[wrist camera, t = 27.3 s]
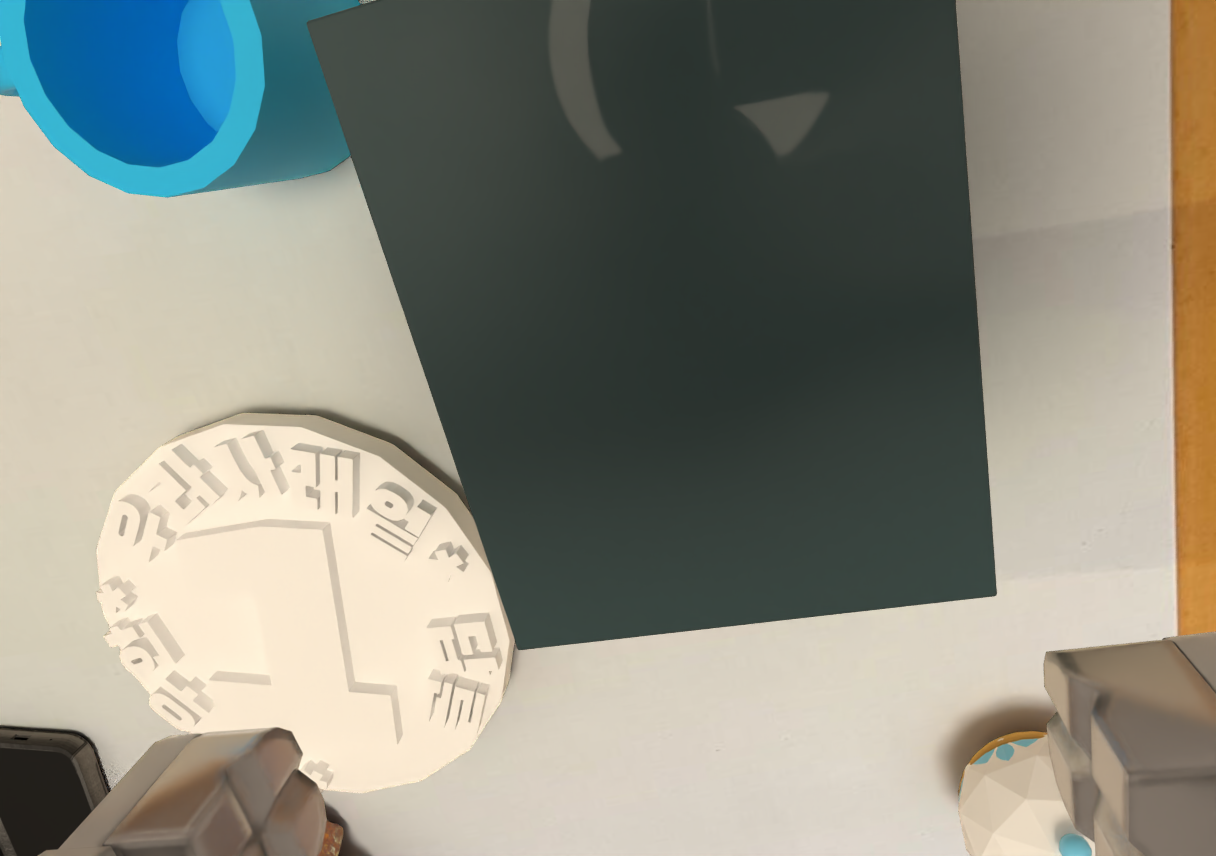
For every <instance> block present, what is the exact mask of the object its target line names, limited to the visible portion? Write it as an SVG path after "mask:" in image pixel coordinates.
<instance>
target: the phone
mask: <svg viewBox="0 0 1216 856" xmlns="http://www.w3.org/2000/svg"><path fill="white" fill-rule="evenodd" d="M107 795H108V791H107V788H106V785H105V782H104V779H103V776H102V773H101V771H100V768H99V765H98V762H97V759H96V756H95V753H94V751H93V749H92V747H91V745H90V744H89V743H88V742H87V740H85V739H84V738H82V737H81V736H79V735H77V734H74V733H69V732H55V731H41V730H27V729H12V728H0V856H38V855H40V854H41V853H43V852H44V851H46V850H57V849H59V848H60V846H61V845H62V844H63V843H64V842H65V841H66V840H67V839H68V838H69V836H70V835H71V834H72V833H73V832H74V831H75V830H76V829H77V828H78V827H79V825H80V824H81V823H82V822H83V821H84V820H85V819H86V818H87V817H88V816H89V814H90V813H91V812H92V811H93V810H94V809H95V808H96V807H97V806H98V805H99V803H100V802H101V801H102V800H103V799H104V798H105V797H106V796H107Z"/></svg>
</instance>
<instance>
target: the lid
mask: <svg viewBox="0 0 1216 856" xmlns="http://www.w3.org/2000/svg"><path fill="white" fill-rule="evenodd" d="M307 28H308V30H309V33H310V36H311V39H312V42H313V45H314V48H315V51H316V54H317V57H318V60H319V63H320V66H321V69H322V72H323V75H324V78H325V81H326V84H327V87H328V90H329V93H330V95H331V98H332V101H333V104H334V107H335V110H336V113H337V116H338V119H339V122H340V125H341V128H342V131H343V134H344V137H345V140H346V143H347V146H348V149H349V152H350V155H351V158H352V160H353V163H354V166H355V169H356V172H357V175H358V178H359V181H360V184H361V187H362V190H363V193H364V196H365V199H366V202H367V205H368V208H369V211H370V214H371V217H372V220H373V223H374V226H375V228H376V231H377V234H378V237H379V240H380V243H381V246H382V249H383V252H384V255H385V258H386V261H387V264H388V267H389V270H390V273H391V276H392V279H393V282H394V285H395V288H396V291H397V293H398V296H399V299H400V302H401V305H402V308H403V311H404V314H405V317H406V320H407V323H408V326H409V329H410V332H411V335H412V338H413V341H414V344H415V347H416V350H417V353H418V356H419V358H420V361H421V364H422V367H423V370H424V373H425V376H426V379H427V382H428V385H429V388H430V391H431V394H432V397H433V400H434V403H435V406H436V409H437V412H438V415H439V418H440V421H441V423H442V426H443V429H444V432H445V435H446V438H447V441H448V444H449V447H450V450H451V453H452V456H453V459H454V462H455V465H456V468H457V471H458V474H459V477H460V480H461V483H462V486H463V488H464V491H465V494H466V497H467V500H468V503H469V506H470V509H471V512H472V515H473V518H474V521H475V524H476V527H477V530H478V533H479V536H480V539H481V542H482V545H483V548H484V551H485V554H486V556H487V559H488V562H489V565H490V568H491V571H492V574H493V577H494V580H495V583H496V586H497V589H498V592H499V595H500V598H501V601H502V604H503V607H504V610H505V613H506V616H507V619H508V621H509V624H510V627H511V630H512V633H513V636H514V639H515V642H516V645H517V648H518V650H525V649H534V648H543V647H551V646H560V645H569V644H578V643H587V642H595V641H604V640H613V639H622V638H631V637H639V636H648V635H657V634H666V633H675V632H683V631H692V630H701V629H710V628H719V627H727V626H736V625H745V624H754V623H763V622H771V621H780V620H789V619H798V618H807V617H815V616H824V615H833V614H842V613H851V612H860V611H868V610H877V609H886V608H895V607H904V606H912V605H921V604H930V603H939V602H948V601H956V600H965V599H974V598H983V597H992V596H996V594H997V589H996V575H995V560H994V546H993V532H992V517H991V503H990V488H989V474H988V460H987V445H986V431H985V416H984V402H983V388H982V373H981V359H980V344H979V330H978V316H977V301H976V287H975V272H974V258H973V243H972V229H971V215H970V200H969V186H968V171H967V157H966V143H965V128H964V114H963V99H962V85H961V71H960V56H959V42H958V27H957V13H956V0H375V1H372V2H369V3H365V4H362V5H359V6H356V7H352V8H349V9H346V10H342V11H339V12H336V13H333V14H329V15H326V16H323V17H319V18H316V19H313V20H310V21H308V22H307Z"/></svg>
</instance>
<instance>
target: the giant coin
mask: <svg viewBox="0 0 1216 856" xmlns="http://www.w3.org/2000/svg"><path fill="white" fill-rule="evenodd" d="M96 553H97V563H98V574H99V584H100V589H99V590H98V591H97V592H96V595H97V599H98V602H101V604H102V612H103V614H104V616H105V618H106V620H107V623H108V625H109V627H110V628H109V630H110V631H109V632H108V633H106V634H105V635H104V636H103V637H104V639H105V640H106V642H107V643H108V645H109V646H110V647H111V648H112V647H115V646H119V648H120V650H121V652H120V654H119V656H120V661H121V662H122V664H123V666H124V667H125V668H126V669H127V670H128V671H129V672H130V673H132V674H133V675H134V676H135V677H136V678H137V680H138V681H139V682H140V683H141V684H142V685H143V686H144V688H145V689H146V690H147V691H148V692H149V693H150V695H151V696H150V698H149V705H150V707H151V709H152V710H154V711H155V712H156V713H157V714H158V715H160V716H161V717H162V718H163V719H165V720H166V721H167V722H169V723H170V724H171V725H173V726H174V727H175V728H177V729H179V730H182V731H188V732H189V733H190V734H198V733H200V734H204V733H206V732H217V731H231V730H245V729H259V728H273V727H279V728H282V729H285V730H289V731H292V733H293V735H294V737H295V739H296V741H297V743H298V745H299V747H300V749H301V750H302V752H303V756H302V759H301V762H300V765H299V769H298V770H300V771H301V772H302V773H304V774H305V775H306V776H308V777H309V778H310V779H311V780H313V781H314V782H315V783H317V785H318V788H319V790H320V792H321V793H322V791H323V790H334V791H344V792H354V793H365V792H370V791H374V790H379V789H384V788H389V787H394V786H399V785H404V784H409V783H414V782H418V781H422V780H423V779H425V778H426V777H428V776H430V775H431V774H433V773H434V772H436V771H437V770H439V769H441V768H442V767H444V766H445V765H447V764H448V763H450V762H452V761H453V760H455V759H456V758H458V757H459V756H461V755H463V754H464V753H466V752H467V751H469V750H470V749H471V747H472V746H473V744H474V743H475V741H476V740H477V738H478V737H479V735H480V733H481V732H482V730H483V729H484V727H485V726H486V724H487V723H488V721H489V720H490V718H491V717H492V715H493V713H494V712H495V710H496V709H497V707H498V706H499V704H500V703H501V701H502V698H503V696H504V693H505V691H506V688H507V685H508V683H509V677H510V670H511V663H512V656H513V648H514V641H515V639H514V636H513V633H512V630H511V627H510V624H509V621H508V619H507V616H506V613H505V610H504V607H503V604H502V601H501V598H500V595H499V592H498V589H497V586H496V583H495V580H494V577H493V574H492V571H491V568H490V565H489V562H488V559H487V556H486V554H485V551H484V548H483V545H482V542H481V539H480V536H479V533H478V530H477V527H476V524H475V521H474V518H473V517H472V515H471V514H470V512H469V511H468V510H467V508H466V507H465V505H464V504H463V502H462V501H461V499H460V498H459V496H458V495H457V494H456V493H455V492H454V491H453V490H451V489H450V488H449V487H447V486H446V485H445V484H444V483H442V482H441V481H440V480H438V479H437V478H436V477H435V476H433V475H432V474H431V473H429V472H428V471H427V470H426V469H424V468H423V467H422V466H420V465H419V464H418V463H417V462H415V461H414V460H413V459H411V458H410V457H409V456H408V455H406V454H405V453H404V452H402V451H401V450H400V449H399V448H397V447H396V446H395V445H393V444H392V443H389V442H386V441H384V440H381V439H378V438H376V437H373V436H370V435H368V434H365V433H362V432H360V431H357V430H354V429H352V428H349V427H346V426H344V425H341V424H339V423H336V422H333V421H331V420H328V419H325V418H323V417H320V416H317V415H309V414H307V415H289V414H260V413H240V414H238V415H235V416H232V417H229V418H227V419H224V420H221V421H218V422H215V423H213V424H210V425H207V426H204V427H202V428H199V429H196V430H193V431H190V432H188V433H185V434H182V435H179V436H178V437H176V438H174V439H172V440H171V441H169V442H167V443H165V444H164V445H162V446H160V447H159V448H158V449H157V450H156V451H155V452H154V453H153V454H152V455H151V456H150V457H149V458H148V459H147V460H146V461H145V462H144V463H143V464H142V465H141V466H140V467H139V468H138V469H137V470H136V471H135V472H134V473H133V474H132V475H131V476H130V477H129V478H128V479H127V480H126V481H125V482H124V483H123V484H122V485H121V486H120V487H119V488H118V489H117V490H116V491H115V493H114V496H113V499H112V502H111V505H110V508H109V511H108V514H107V517H106V520H105V523H104V526H103V529H102V532H101V535H100V538H99V541H98V544H97V548H96Z"/></svg>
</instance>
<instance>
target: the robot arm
mask: <svg viewBox="0 0 1216 856" xmlns="http://www.w3.org/2000/svg"><path fill="white" fill-rule="evenodd" d="M1044 687H1045V689H1046V691H1047V693H1048V694H1049V696H1050V698H1051V700H1052V702H1053V704H1054V706H1055V708H1056V709H1057V712H1056V713H1055V715H1054V716H1053V717H1052V718H1051V719H1050V721H1049V722H1048V723H1047V735H1048V745H1049V754H1050V759H1051V763H1052V767H1053V772H1054V776H1055V781H1056V784H1057V787H1058V790H1059V792H1060V795H1061V798H1062V800H1063V803H1064V806H1065V808H1066V810H1067V812H1068V814H1069V817H1070V819H1071V821H1072V823H1073V825H1074V827H1075V829H1076V830H1077V831H1079V832H1080V833H1081V834H1083V835H1084V836H1086V837H1087V838H1089V839H1090V840H1092V841H1093V842H1094V843H1095V856H1216V632H1208V633H1200V634H1192V635H1184V636H1176V637H1167V638H1163V639H1162V640H1155V641H1145V642H1136V643H1126V644H1116V645H1107V646H1097V647H1088V648H1078V649H1068V650H1059V651H1049V652H1046V655H1045V660H1044ZM302 756H303V752H302V750H301V749H300V747H299V745H298V743H297V741H296V739H295V737H294V735H293V733H292V731H289V730H285V729H282V728H279V727H273V728H259V729H245V730H231V731H217V732H206V733H204V734H200V733H198V734H185V735H173V736H169V737H167V738H164V739H162V740H160V741H157V742H155V743H154V744H153V745H152V746H151V747H150V748H149V749H148V751H147V752H146V753H145V754H144V755H143V756H142V757H141V758H140V759H139V760H138V762H137V763H136V764H135V765H134V766H133V767H132V768H131V769H130V770H129V771H128V773H127V774H126V775H125V776H124V777H123V778H122V779H121V780H120V781H119V782H118V784H117V785H116V786H115V787H114V788H113V789H112V790H111V791H110V792H109V793H108V795H107V796H106V797H105V798H104V799H103V800H102V801H101V802H100V803H99V805H98V806H97V807H96V808H95V809H94V810H93V811H92V812H91V813H90V814H89V816H88V817H87V818H86V819H85V820H84V821H83V822H82V823H81V824H80V825H79V827H78V828H77V829H76V830H75V831H74V832H73V833H72V834H71V835H70V836H69V838H68V839H67V840H66V841H65V842H64V843H63V844H62V845H61V846H60V848H59V849H57V850H46V851H44V852H43V853H41V854H40V855H38V856H318V855H319V853H320V851H321V849H322V846H323V840H324V834H325V829H326V823H327V818H326V811H325V803H324V799H323V797H322V794H321V792H320V790H319V788H318V785H317V783H315V782H314V781H313V780H311V779H310V778H309V777H308V776H306V775H305V774H304V773H302V772H301V771H300V770H298V769H299V765H300V762H301V759H302Z"/></svg>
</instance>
